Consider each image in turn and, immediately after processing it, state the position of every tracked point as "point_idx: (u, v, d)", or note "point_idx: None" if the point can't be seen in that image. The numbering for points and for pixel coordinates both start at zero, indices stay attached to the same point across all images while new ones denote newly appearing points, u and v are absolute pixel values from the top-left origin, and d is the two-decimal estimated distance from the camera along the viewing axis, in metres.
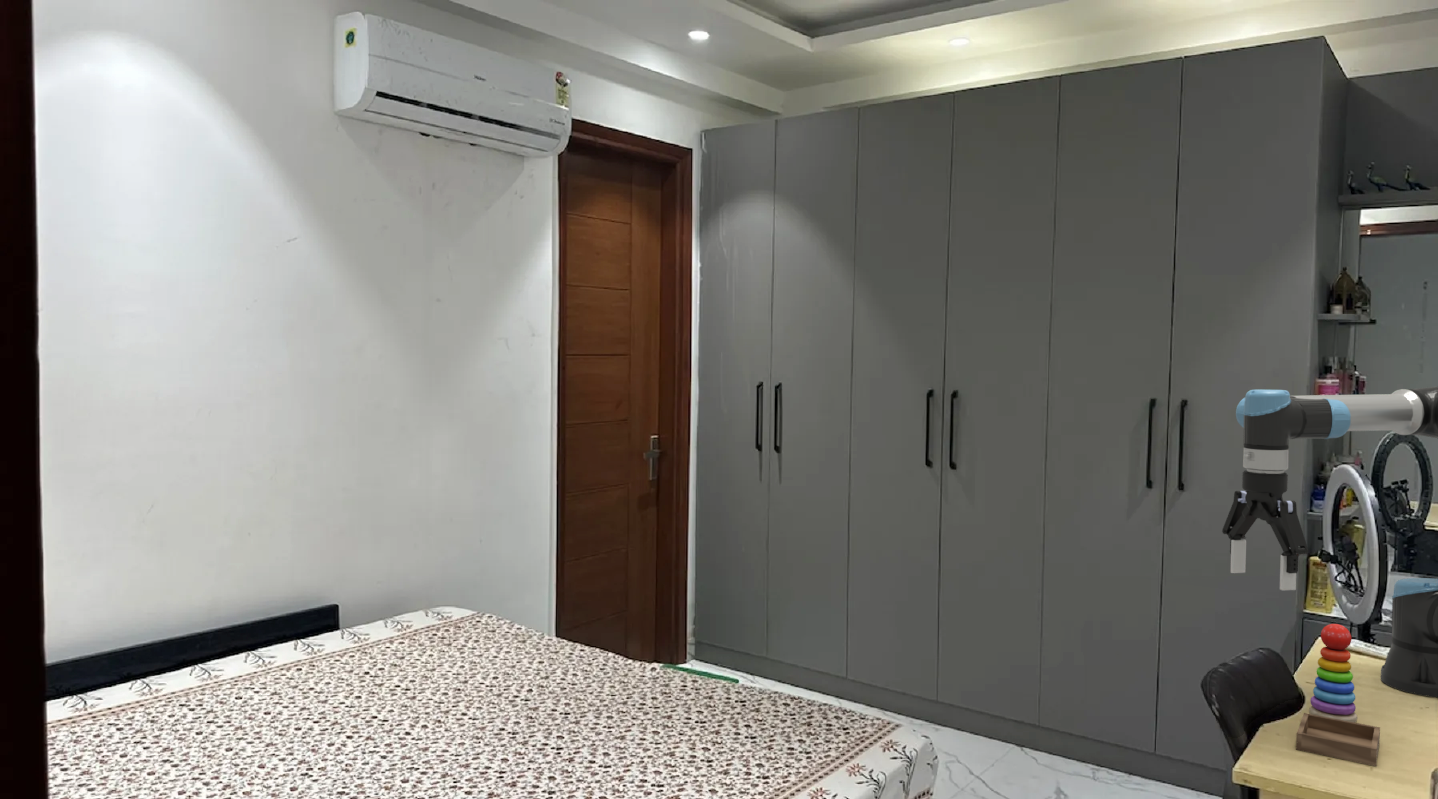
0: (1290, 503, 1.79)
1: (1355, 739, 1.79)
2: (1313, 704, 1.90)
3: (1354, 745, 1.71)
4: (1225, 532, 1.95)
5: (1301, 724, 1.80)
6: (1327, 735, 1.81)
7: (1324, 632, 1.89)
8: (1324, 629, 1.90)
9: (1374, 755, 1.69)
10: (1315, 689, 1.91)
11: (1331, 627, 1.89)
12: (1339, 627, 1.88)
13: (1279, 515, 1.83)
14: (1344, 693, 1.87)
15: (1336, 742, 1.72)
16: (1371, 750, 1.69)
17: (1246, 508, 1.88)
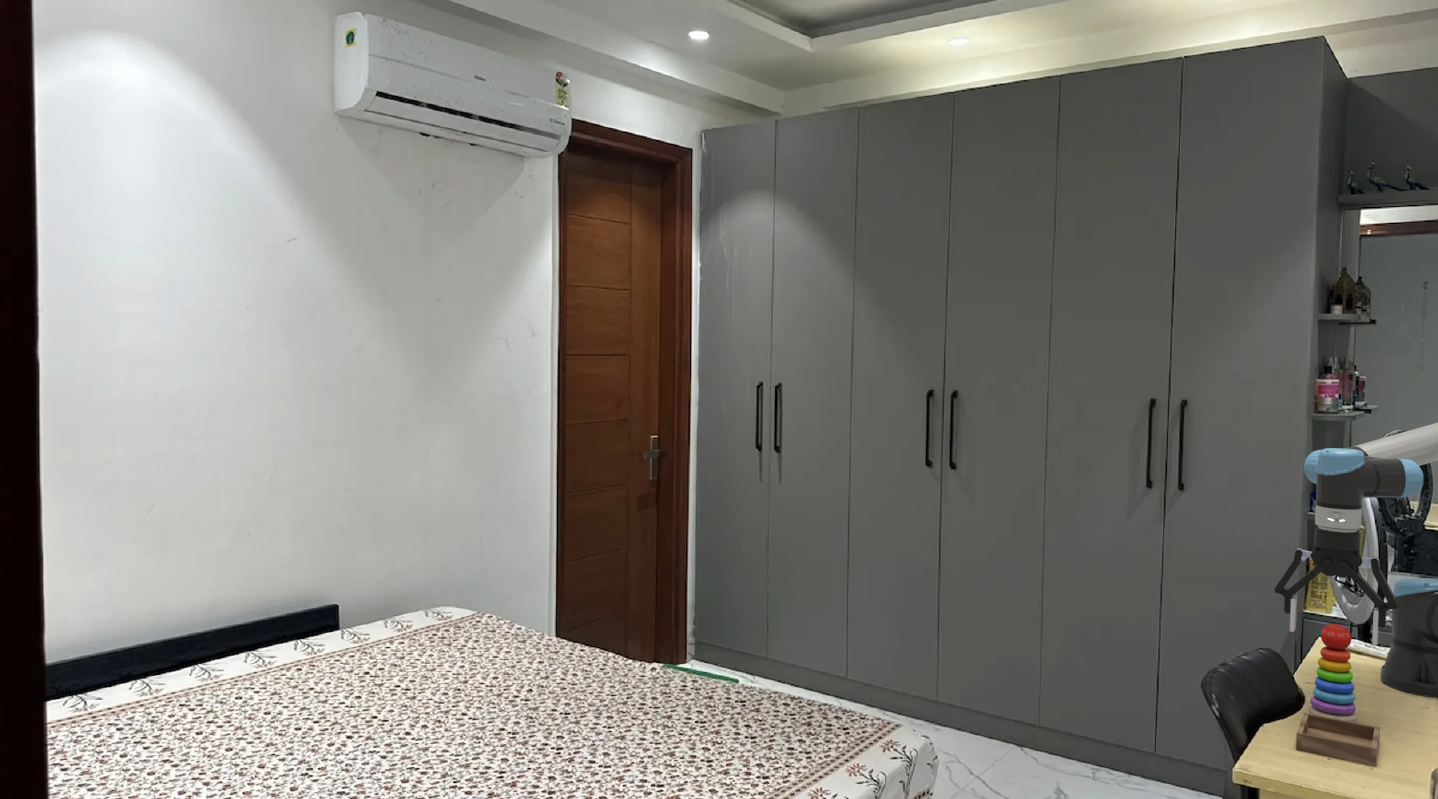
0: (1378, 559, 1.85)
1: (1355, 739, 1.79)
2: (1313, 704, 1.90)
3: (1354, 745, 1.71)
4: (1279, 591, 1.94)
5: (1301, 724, 1.80)
6: (1327, 735, 1.81)
7: (1324, 632, 1.89)
8: (1324, 629, 1.90)
9: (1374, 755, 1.69)
10: (1315, 689, 1.91)
11: (1331, 627, 1.89)
12: (1339, 627, 1.88)
13: None
14: (1344, 693, 1.87)
15: (1336, 742, 1.72)
16: (1371, 750, 1.69)
17: (1319, 567, 1.89)
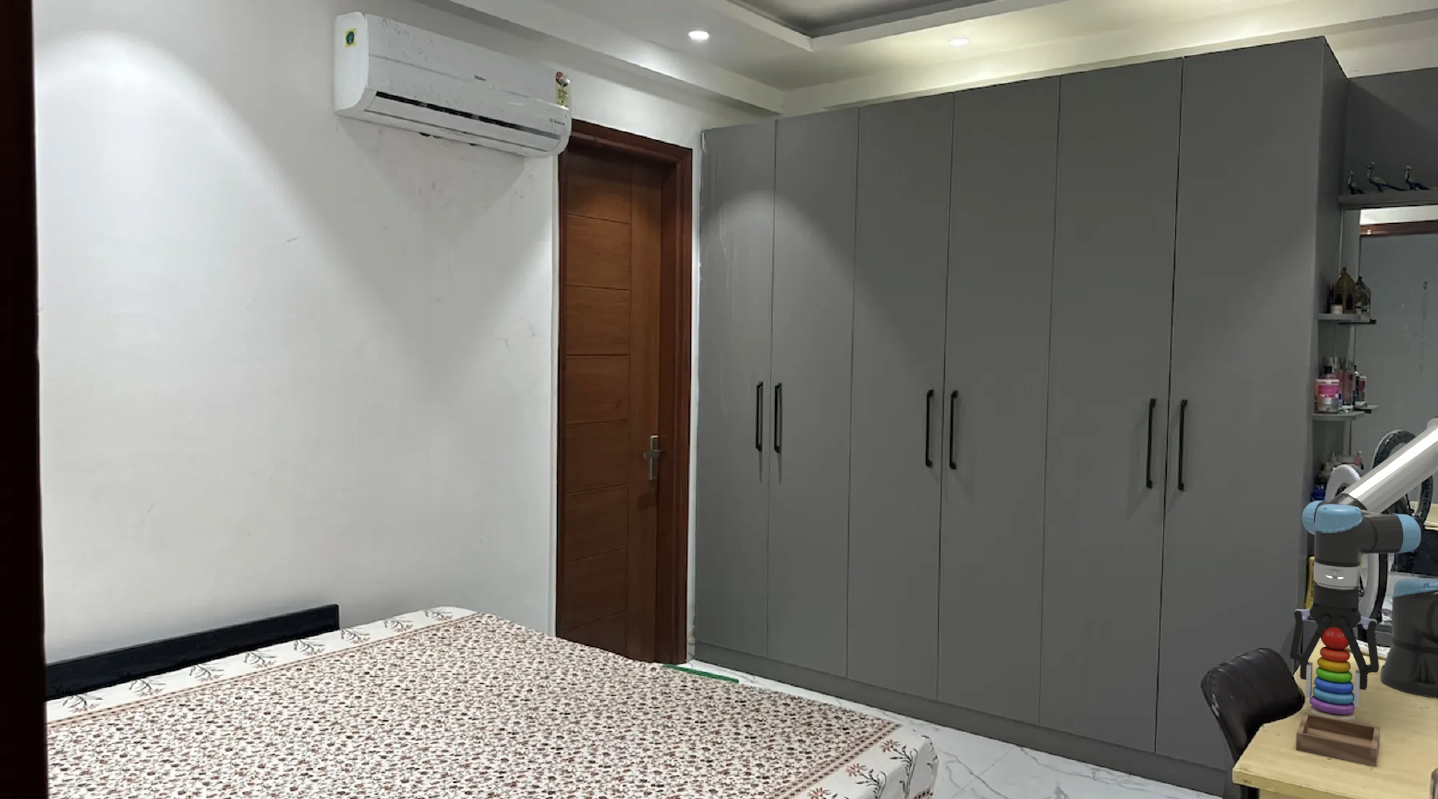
0: (1376, 622, 1.85)
1: (1355, 739, 1.79)
2: (1312, 704, 1.90)
3: (1354, 745, 1.71)
4: (1295, 657, 1.93)
5: (1301, 724, 1.80)
6: (1327, 735, 1.81)
7: (1323, 632, 1.89)
8: None
9: (1374, 755, 1.69)
10: (1314, 689, 1.91)
11: (1330, 627, 1.89)
12: None
13: None
14: (1343, 693, 1.87)
15: (1336, 742, 1.72)
16: (1371, 750, 1.69)
17: (1321, 625, 1.89)
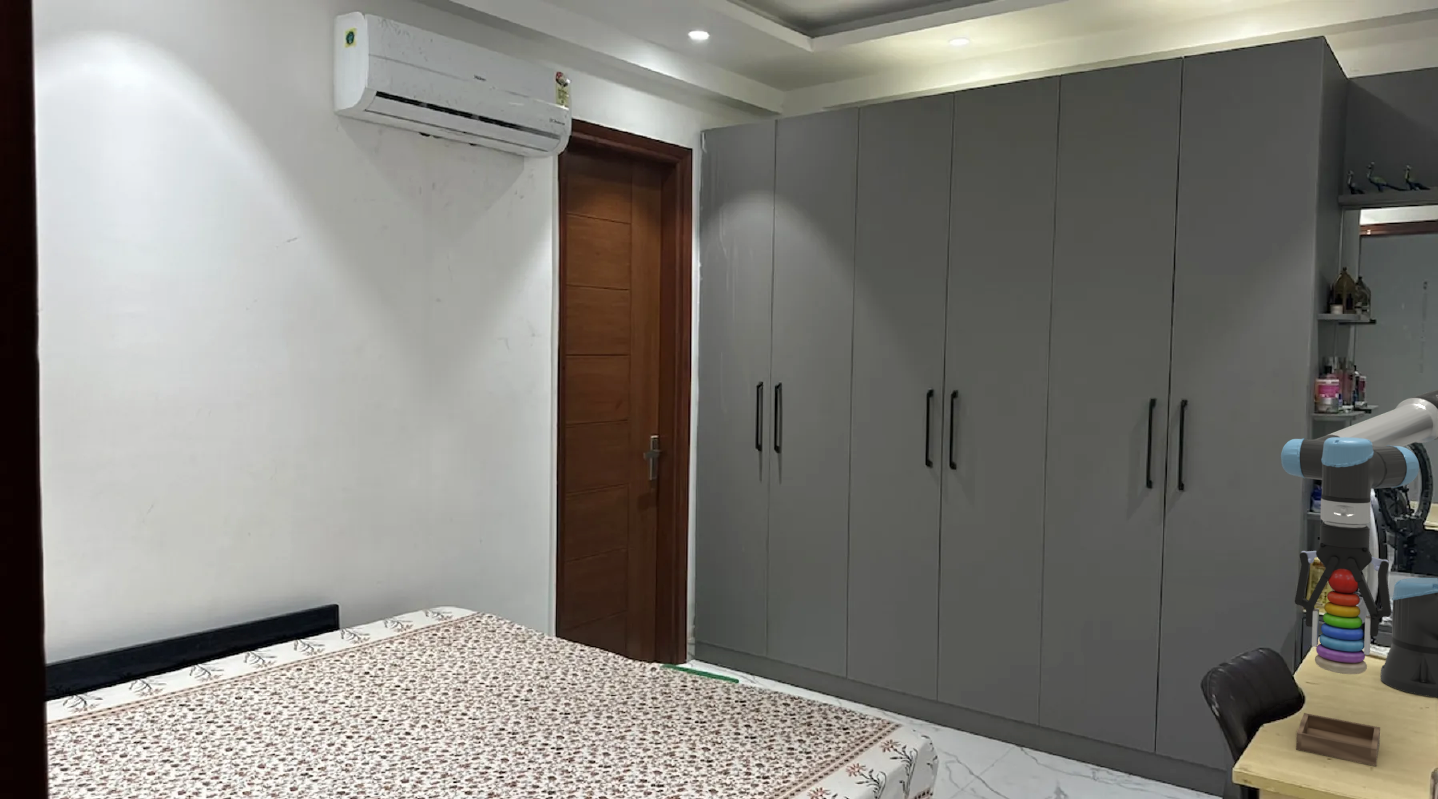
0: None
1: (1355, 739, 1.79)
2: (1319, 652, 1.76)
3: (1354, 745, 1.71)
4: (1300, 602, 1.79)
5: (1301, 724, 1.80)
6: (1327, 735, 1.81)
7: (1331, 575, 1.76)
8: None
9: (1374, 755, 1.69)
10: (1321, 636, 1.77)
11: (1338, 569, 1.75)
12: None
13: None
14: (1353, 639, 1.73)
15: (1336, 742, 1.72)
16: (1371, 750, 1.69)
17: (1328, 567, 1.75)
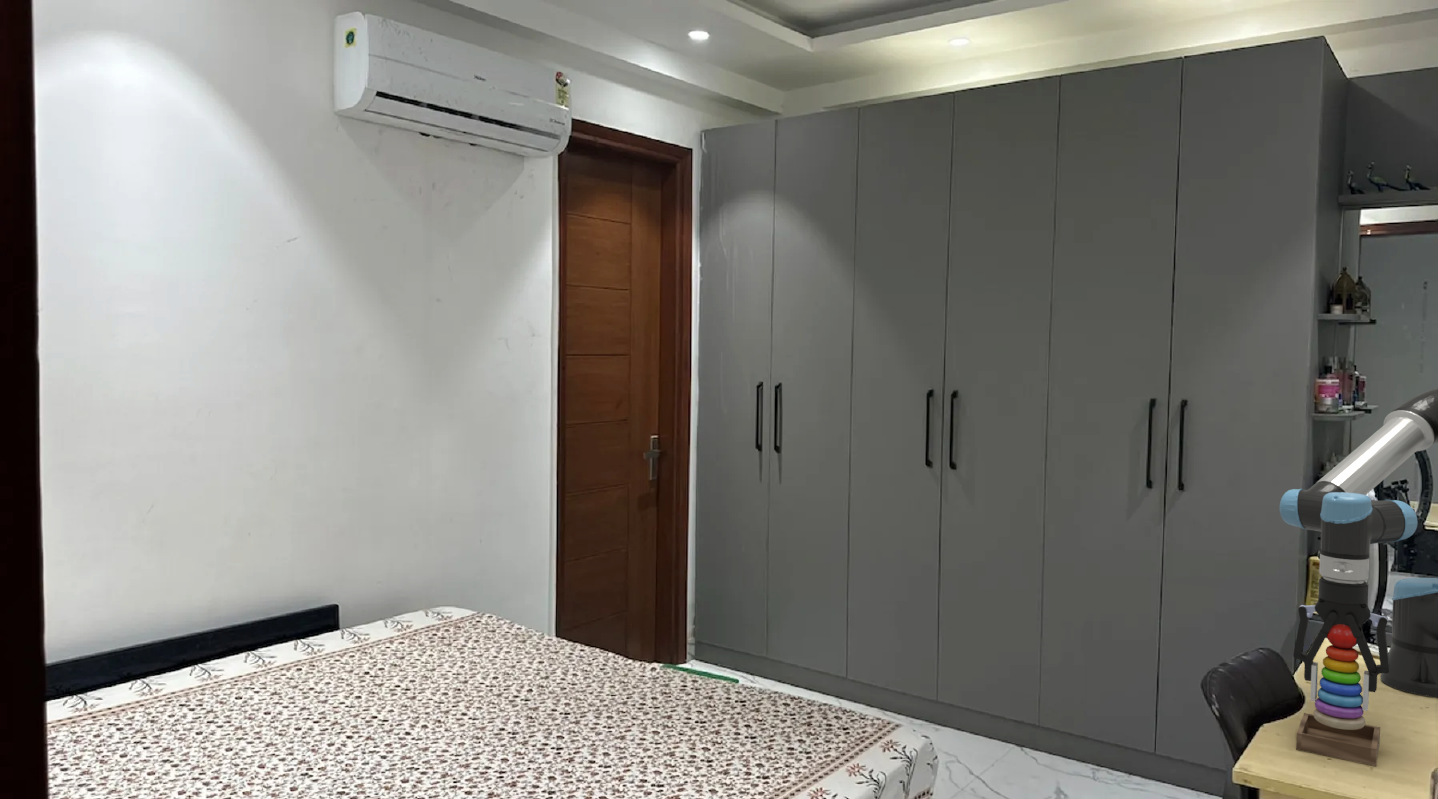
0: (1387, 619, 1.72)
1: (1355, 739, 1.79)
2: (1318, 707, 1.77)
3: (1354, 745, 1.71)
4: (1299, 656, 1.79)
5: (1301, 724, 1.80)
6: (1327, 735, 1.81)
7: (1330, 630, 1.76)
8: None
9: (1374, 755, 1.69)
10: (1320, 691, 1.77)
11: (1337, 624, 1.75)
12: None
13: None
14: (1351, 695, 1.73)
15: (1336, 742, 1.72)
16: (1371, 750, 1.69)
17: (1327, 622, 1.76)
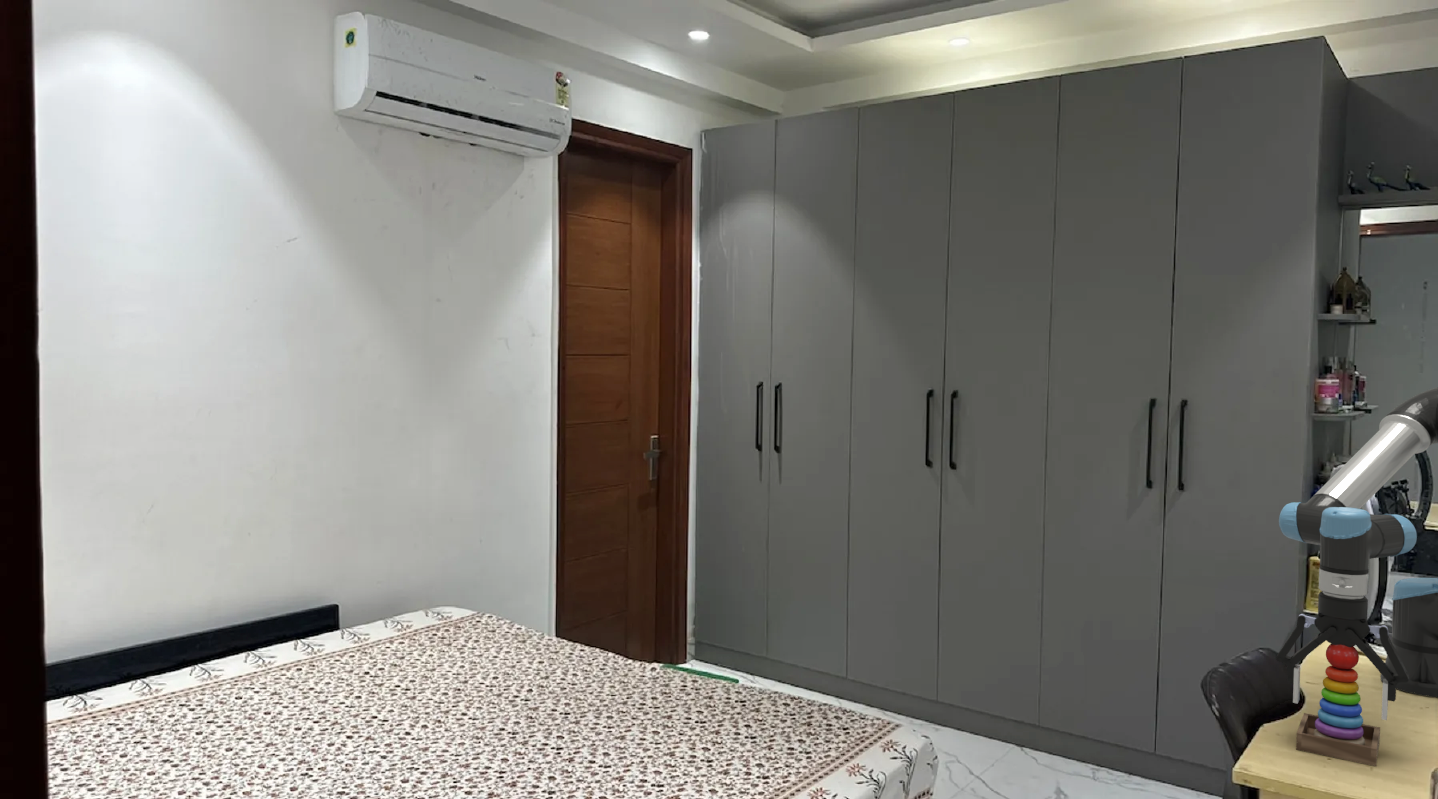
0: (1387, 628, 1.72)
1: None
2: (1318, 727, 1.77)
3: (1354, 745, 1.71)
4: (1281, 660, 1.81)
5: (1301, 724, 1.80)
6: None
7: (1329, 651, 1.76)
8: (1329, 647, 1.77)
9: (1374, 755, 1.69)
10: (1320, 711, 1.78)
11: (1336, 645, 1.76)
12: None
13: None
14: (1351, 716, 1.74)
15: (1336, 742, 1.72)
16: (1371, 750, 1.69)
17: (1324, 635, 1.76)
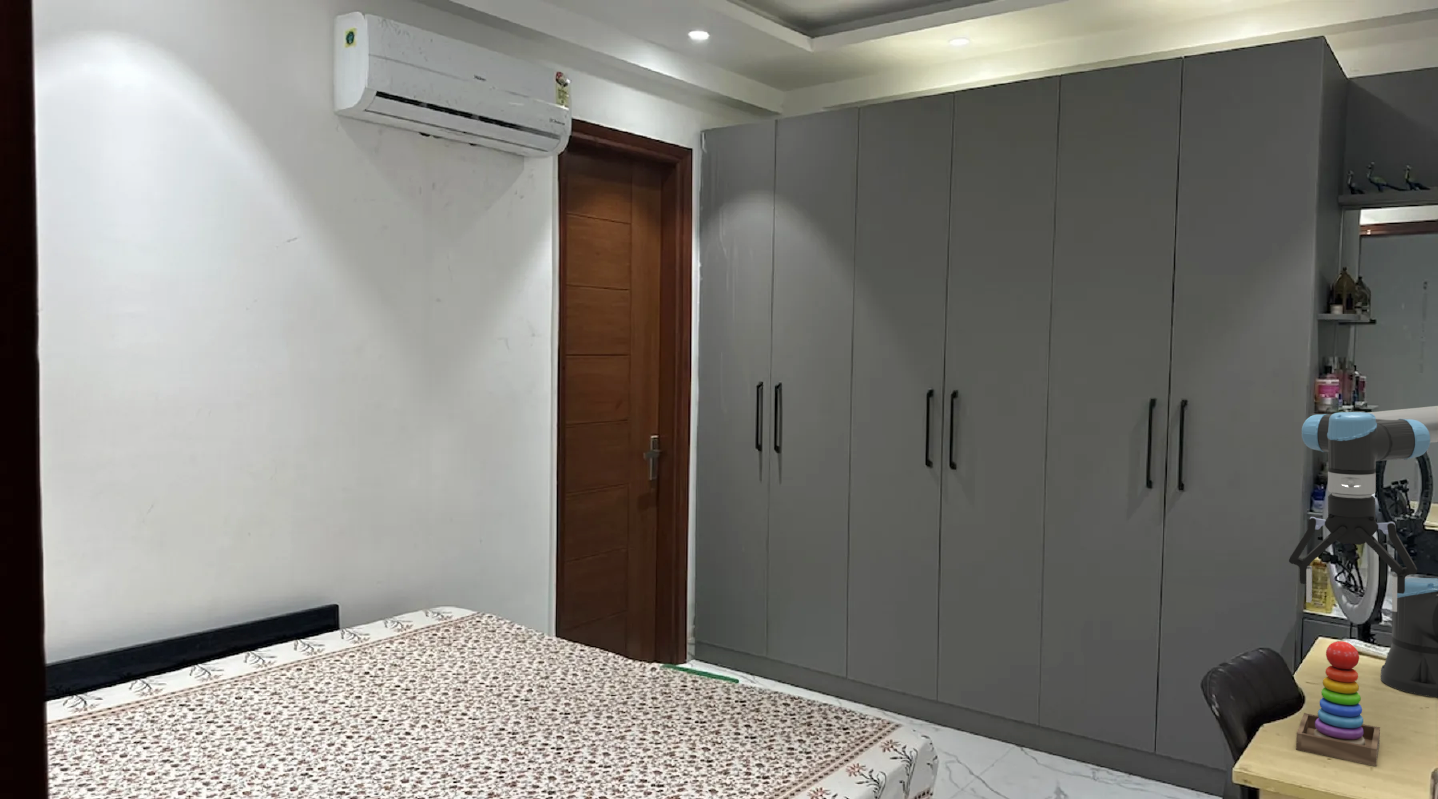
0: (1394, 524, 1.80)
1: None
2: (1318, 727, 1.77)
3: (1354, 745, 1.71)
4: (1294, 562, 1.88)
5: (1301, 724, 1.80)
6: None
7: (1329, 651, 1.76)
8: (1330, 647, 1.77)
9: (1374, 755, 1.69)
10: (1320, 711, 1.78)
11: (1337, 645, 1.76)
12: (1346, 645, 1.75)
13: None
14: (1351, 716, 1.74)
15: (1336, 742, 1.72)
16: (1371, 750, 1.69)
17: (1334, 535, 1.84)
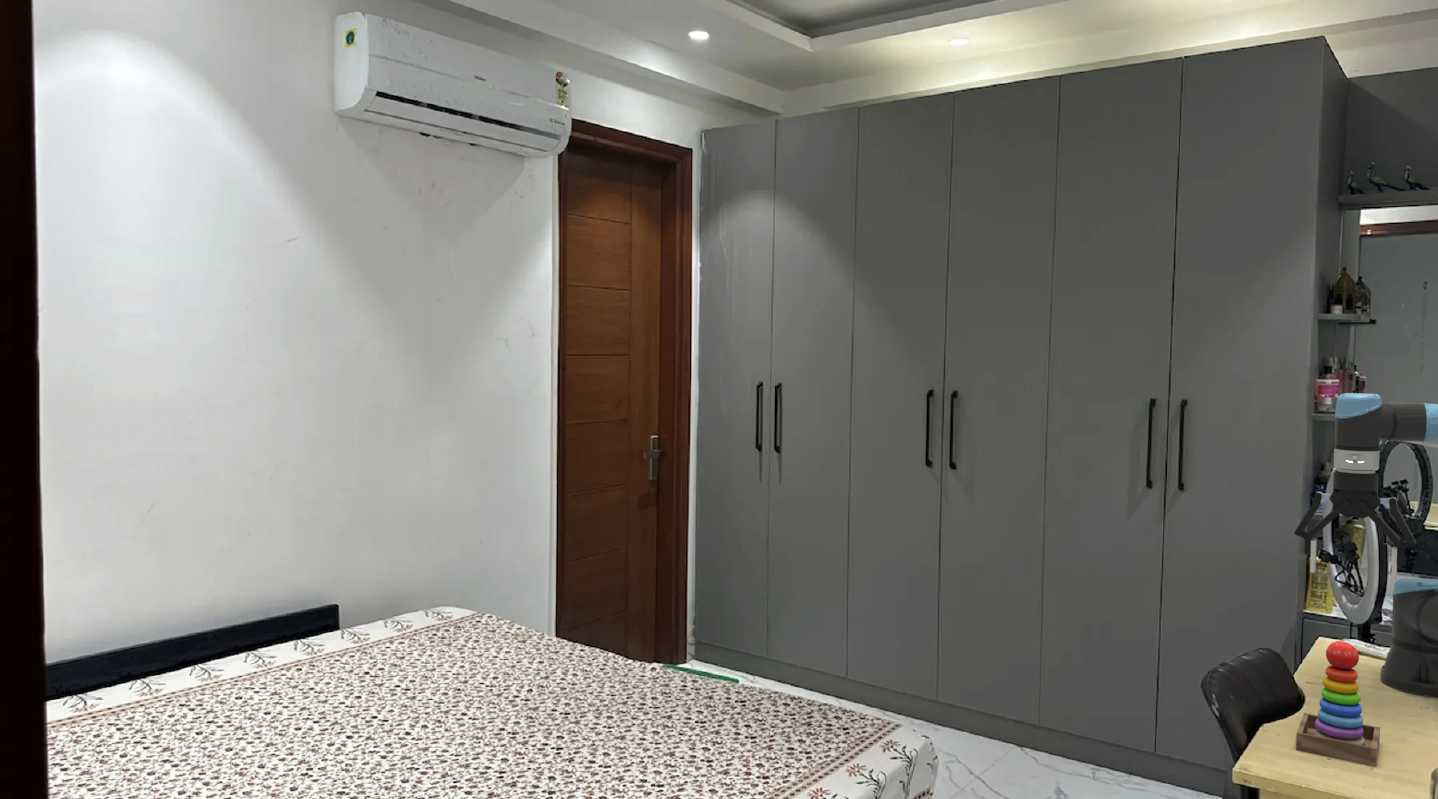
0: (1396, 499, 1.90)
1: None
2: (1318, 727, 1.77)
3: (1354, 745, 1.71)
4: (1300, 534, 1.99)
5: (1301, 724, 1.80)
6: None
7: (1329, 651, 1.76)
8: (1329, 647, 1.77)
9: (1374, 755, 1.69)
10: (1320, 711, 1.78)
11: (1337, 645, 1.76)
12: (1346, 645, 1.75)
13: None
14: (1351, 716, 1.74)
15: (1336, 742, 1.72)
16: (1371, 750, 1.69)
17: (1338, 508, 1.94)
